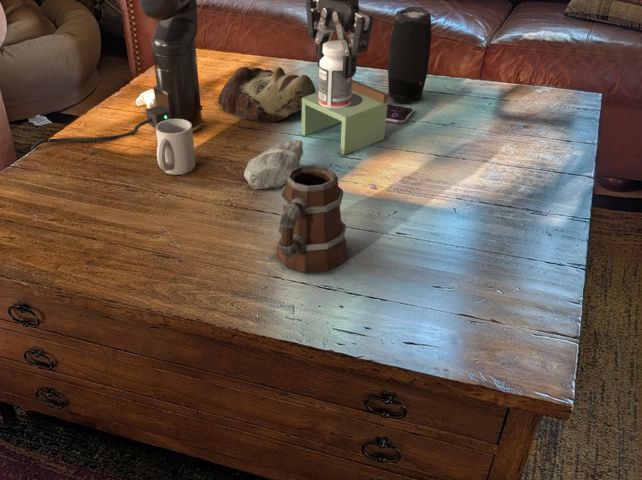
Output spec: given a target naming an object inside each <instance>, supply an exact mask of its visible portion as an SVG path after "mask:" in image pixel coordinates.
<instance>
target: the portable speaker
mask: <svg viewBox="0 0 642 480" xmlns="http://www.w3.org/2000/svg"><path fill="white" fill-rule="evenodd" d="M431 14H432V13H431V12H429V11H428V10H426V9H425V8H423V7H421V6H407V7H405V8H403V9H402V10H398V11H395V18H394V22H393V26H392V31H391V35H390V39H389V50H388V59H387V60H388V62H387V81H388V82H387V84H388V95H390V97H391V98H392V100H393V101H394V103H398V104H409V103H411V101H413V100H415V99H417V100H421V98H422V94H423V93H424V88H425V85H426V81H427V76H428V72H429V65H430V64H429V63H430V55H431V47H432V40H433V39H432V36H433V35H432V15H431Z"/></svg>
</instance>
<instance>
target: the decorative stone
mask: <svg viewBox="0 0 642 480" xmlns="http://www.w3.org/2000/svg"><path fill="white" fill-rule="evenodd" d="M303 145H304V143H303V141H302V140H301V139H300V140H299V139H297V140H289V141H282V142H279V143H278V144H273V145H272V146H270V147H268V148H267V149H265V150H264V151H262V152H260V153H259V154H258V155H256V156H255V157H253V158H251V159H249V160H248V162H247V165H246V167H245V169H244V172H243V177H244V179H245V180H246V182H247V184H248V187H250V188H252V189H254V190H267V189H278V188H281V187H282V186H285V184H286V180H287V177H288V175H289V173H290V171H291V170H293V169H295V168H297V167H299V165H300V162H301V159H302V156H303V154H304V147H303Z"/></svg>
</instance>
